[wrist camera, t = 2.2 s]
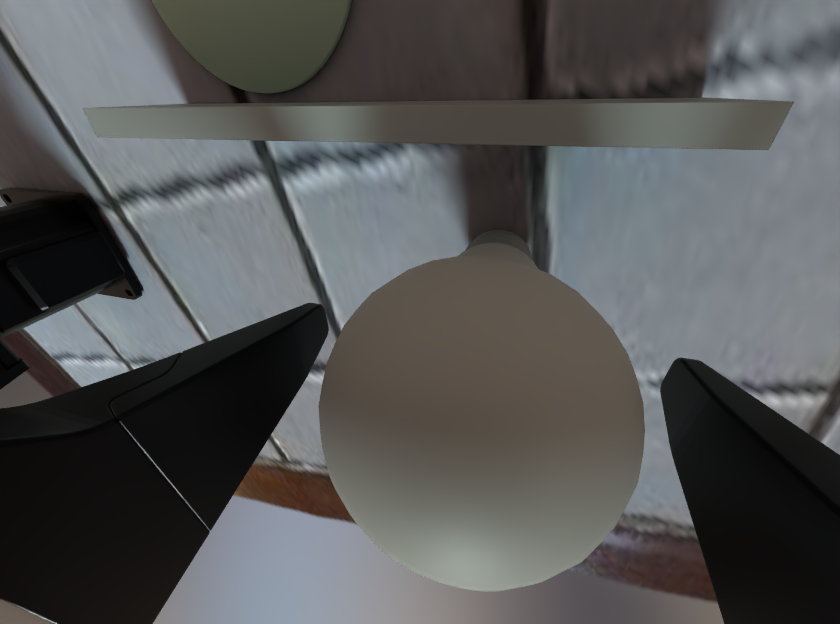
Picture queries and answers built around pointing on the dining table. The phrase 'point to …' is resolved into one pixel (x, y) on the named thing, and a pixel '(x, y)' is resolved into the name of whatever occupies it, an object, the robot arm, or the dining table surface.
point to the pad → (258, 38)
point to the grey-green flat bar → (464, 122)
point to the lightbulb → (482, 419)
